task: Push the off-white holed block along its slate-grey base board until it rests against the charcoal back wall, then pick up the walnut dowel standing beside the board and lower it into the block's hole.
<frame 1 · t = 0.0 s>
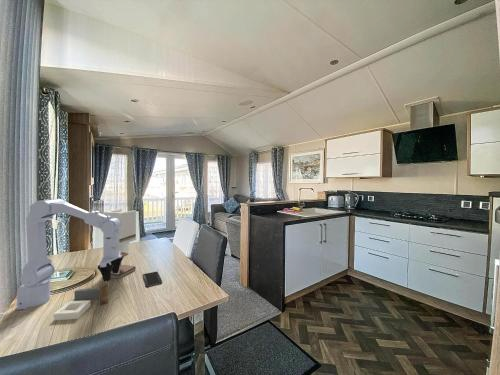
hand: (111, 276, 93), 10 cm above the table, tool pointing down, fingers open, 7 cm apart
base board: (78, 310, 85), on the table
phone: (152, 280, 113), on the table
dowel: (103, 304, 89), on the table
holed block: (73, 309, 82), point 2 cm above the table, slide at 0.0 cm
white tower: (120, 273, 120), on the table
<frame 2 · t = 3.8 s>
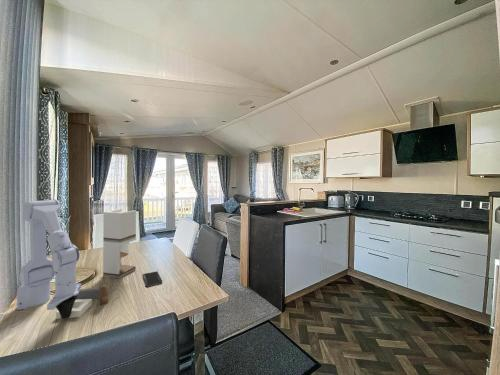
hand: (65, 317, 78), 2 cm above the table, tool pointing down, fingers closed
holed block: (75, 308, 83), point 2 cm above the table, slide at 1.1 cm, touching gripper
everything else where it was.
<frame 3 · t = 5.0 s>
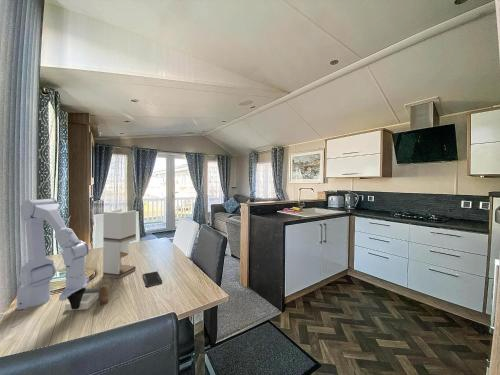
hand: (75, 308, 83), 2 cm above the table, tool pointing down, fingers closed
holed block: (82, 301, 88), point 2 cm above the table, slide at 6.0 cm, touching base board, gripper
everything else where it was.
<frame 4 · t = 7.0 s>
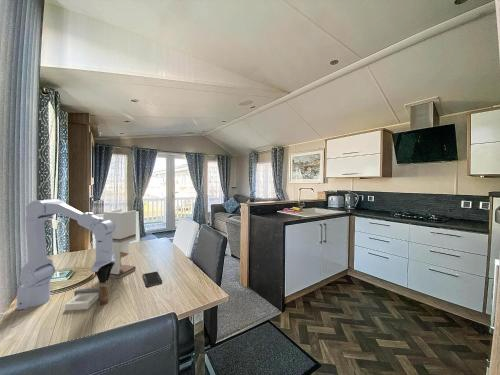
hand: (104, 281, 89), 10 cm above the table, tool pointing down, fingers closed
holed block: (82, 301, 88), point 2 cm above the table, slide at 6.0 cm, touching base board
everything else where it was.
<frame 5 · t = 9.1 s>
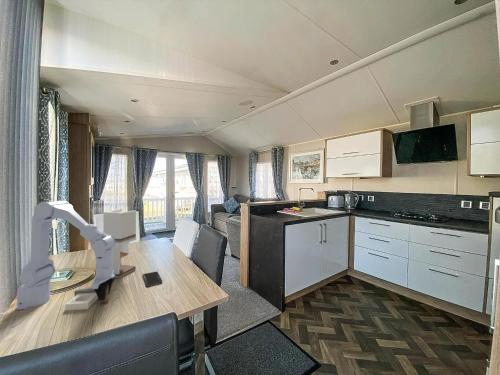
hand: (104, 297, 89), 3 cm above the table, tool pointing down, fingers closed on dowel, 3 cm apart
dowel: (104, 304, 89), on the table, touching gripper
everything else where it was.
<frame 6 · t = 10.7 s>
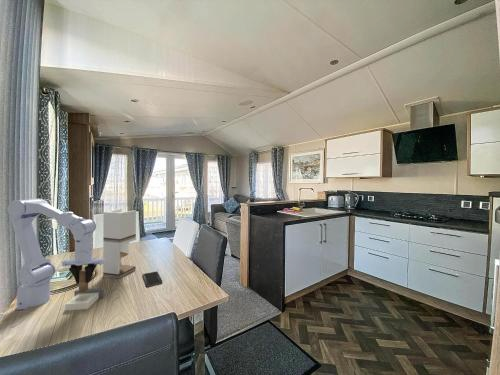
hand: (83, 282, 88), 10 cm above the table, tool pointing down, fingers closed on dowel, 3 cm apart
dowel: (83, 289, 88), point 7 cm above the table, touching gripper
everything else where it was.
when the fingers open (4 cm above the table, at t = 12.4 s): dowel stays where it is, resting on base board.
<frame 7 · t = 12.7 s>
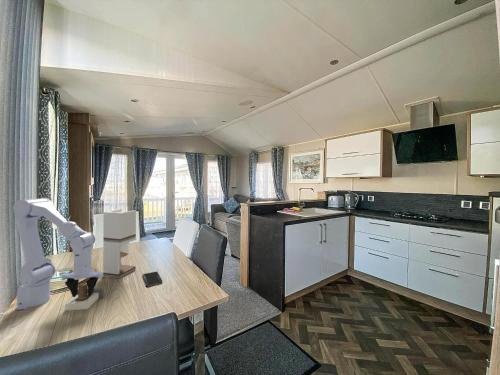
hand: (82, 295, 88), 5 cm above the table, tool pointing down, fingers open, 5 cm apart
dowel: (82, 304, 88), point 1 cm above the table, touching base board
everything else where it was.
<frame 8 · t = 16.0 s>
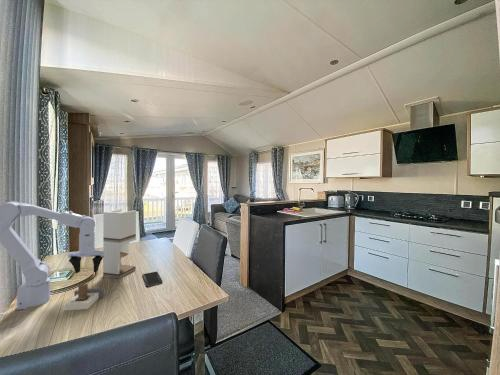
hand: (86, 271, 99), 9 cm above the table, tool pointing down, fingers open, 7 cm apart
nothing on the table moved.
at the end: holed block slide at 6.0 cm; dowel 0.0 cm off-centre on the holed block, point 0.0 cm above the holed block's base; dowel tilted 1° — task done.
